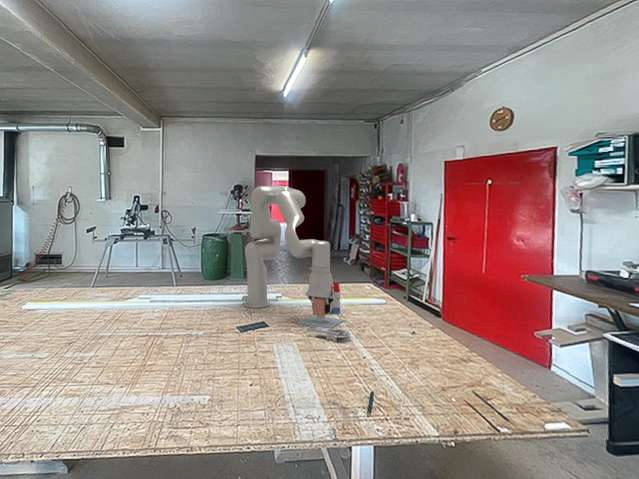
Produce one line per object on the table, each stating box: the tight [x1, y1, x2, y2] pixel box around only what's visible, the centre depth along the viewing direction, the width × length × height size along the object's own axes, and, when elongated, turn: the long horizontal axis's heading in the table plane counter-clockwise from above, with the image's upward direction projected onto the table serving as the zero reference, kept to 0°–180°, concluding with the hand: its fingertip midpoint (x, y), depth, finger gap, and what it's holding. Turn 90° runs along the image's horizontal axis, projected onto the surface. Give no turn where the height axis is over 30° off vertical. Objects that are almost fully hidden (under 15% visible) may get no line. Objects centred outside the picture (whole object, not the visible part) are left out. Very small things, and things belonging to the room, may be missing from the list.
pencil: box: [366, 390, 375, 418], centre depth 129 cm, size 1×1×15 cm
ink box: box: [328, 281, 341, 315], centre depth 227 cm, size 8×5×15 cm, turn 84°
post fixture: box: [296, 315, 345, 329], centre depth 210 cm, size 16×14×7 cm
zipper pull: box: [306, 326, 351, 344], centre depth 188 cm, size 8×18×4 cm, turn 61°
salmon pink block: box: [312, 297, 329, 317], centre depth 209 cm, size 5×5×7 cm
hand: (321, 311), depth 209 cm, fingers closed on salmon pink block, 5 cm apart
